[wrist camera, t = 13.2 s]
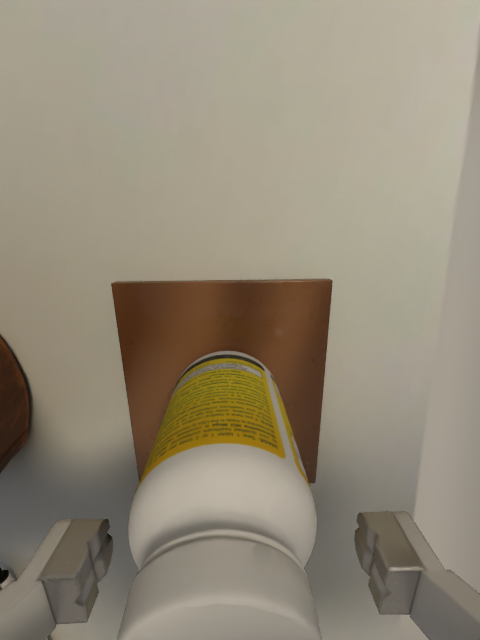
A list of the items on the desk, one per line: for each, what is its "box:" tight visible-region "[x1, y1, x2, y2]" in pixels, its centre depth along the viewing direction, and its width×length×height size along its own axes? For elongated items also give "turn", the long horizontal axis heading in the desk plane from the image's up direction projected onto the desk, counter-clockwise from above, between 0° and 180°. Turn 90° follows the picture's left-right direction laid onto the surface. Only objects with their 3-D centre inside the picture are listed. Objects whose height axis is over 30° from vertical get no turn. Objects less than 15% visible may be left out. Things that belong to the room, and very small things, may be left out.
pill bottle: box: [117, 351, 322, 640], centre depth 11 cm, size 6×6×11 cm
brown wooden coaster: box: [111, 279, 332, 483], centre depth 17 cm, size 12×14×1 cm
